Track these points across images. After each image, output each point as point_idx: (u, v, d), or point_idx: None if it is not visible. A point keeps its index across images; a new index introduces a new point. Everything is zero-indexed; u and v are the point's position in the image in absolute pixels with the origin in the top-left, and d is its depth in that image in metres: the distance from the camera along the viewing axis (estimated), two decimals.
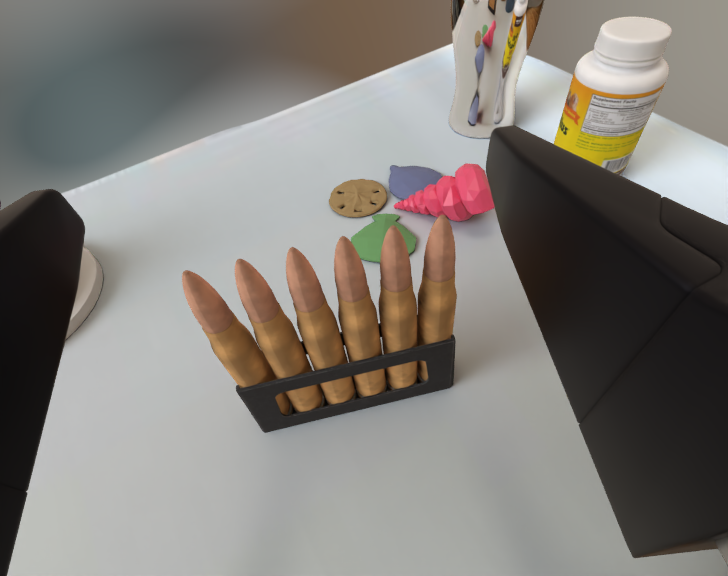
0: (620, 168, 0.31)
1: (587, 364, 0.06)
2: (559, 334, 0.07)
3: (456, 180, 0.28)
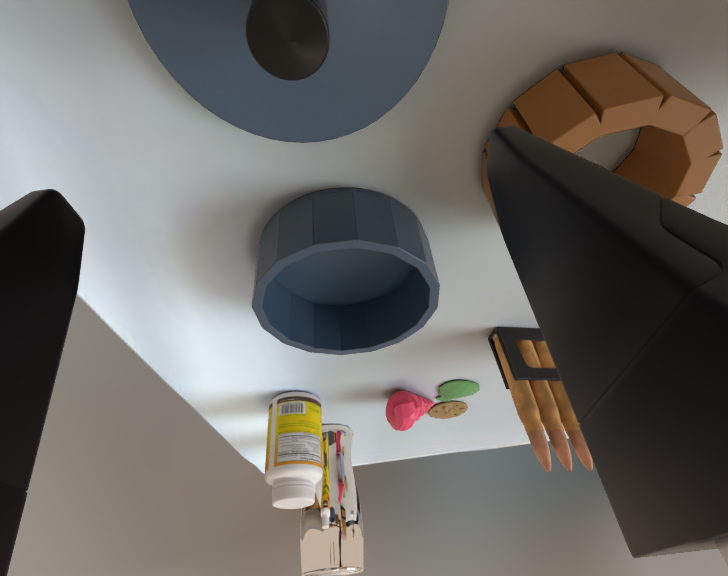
0: (288, 403, 0.42)
1: (587, 364, 0.06)
2: (559, 335, 0.07)
3: None
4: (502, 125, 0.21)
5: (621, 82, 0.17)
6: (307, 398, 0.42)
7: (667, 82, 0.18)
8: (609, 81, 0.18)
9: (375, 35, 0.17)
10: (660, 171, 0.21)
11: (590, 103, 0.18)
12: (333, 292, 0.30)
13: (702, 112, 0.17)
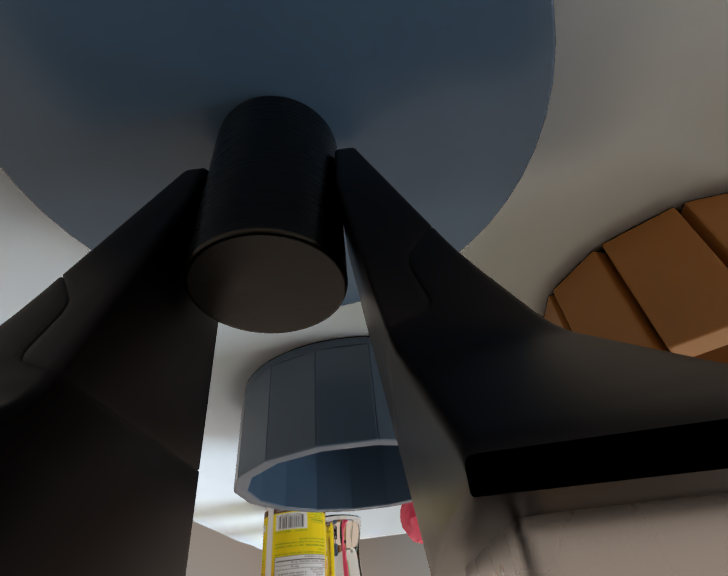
0: (287, 515, 0.35)
1: (386, 389, 0.06)
2: (377, 358, 0.07)
3: None
4: (584, 274, 0.15)
5: None
6: None
7: None
8: None
9: (413, 193, 0.10)
10: None
11: None
12: None
13: None
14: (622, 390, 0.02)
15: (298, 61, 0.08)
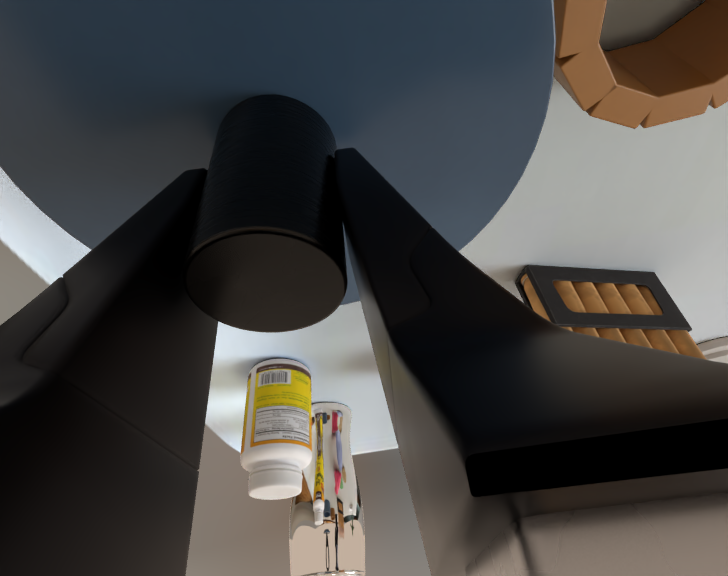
0: (269, 372, 0.34)
1: (387, 389, 0.06)
2: (377, 358, 0.07)
3: None
4: None
5: None
6: (292, 366, 0.35)
7: None
8: None
9: (413, 192, 0.10)
10: None
11: None
12: None
13: None
14: (624, 392, 0.02)
15: (298, 60, 0.08)
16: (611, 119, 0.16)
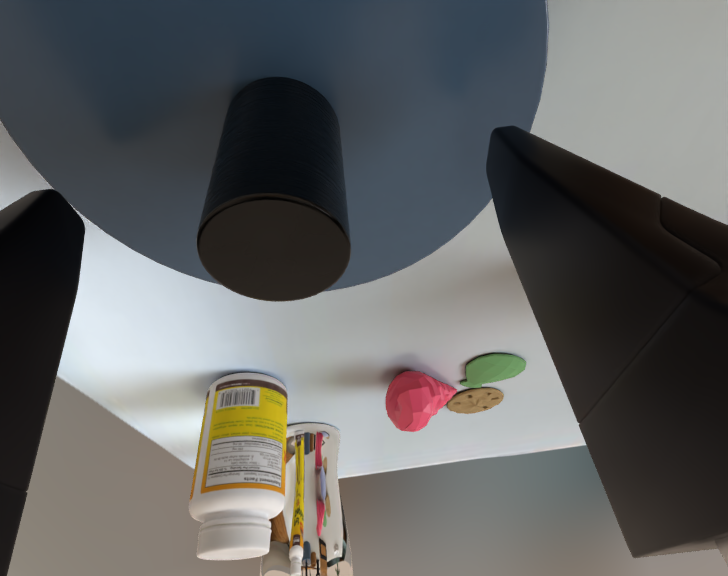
0: (232, 390, 0.26)
1: (587, 364, 0.06)
2: (559, 334, 0.07)
3: None
4: None
5: None
6: (263, 383, 0.27)
7: None
8: None
9: (413, 174, 0.11)
10: None
11: None
12: None
13: None
14: None
15: (303, 43, 0.08)
16: None
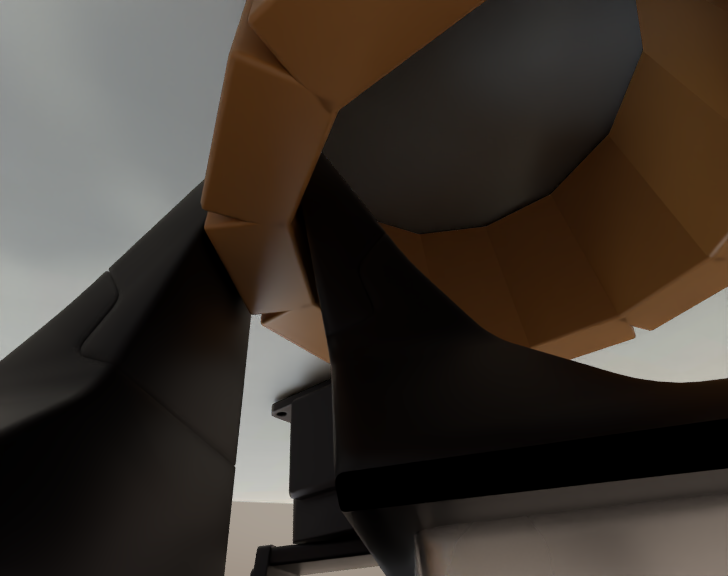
0: None
1: None
2: None
3: None
4: None
5: None
6: None
7: None
8: None
9: None
10: None
11: None
12: None
13: None
14: (514, 405, 0.02)
15: None
16: None
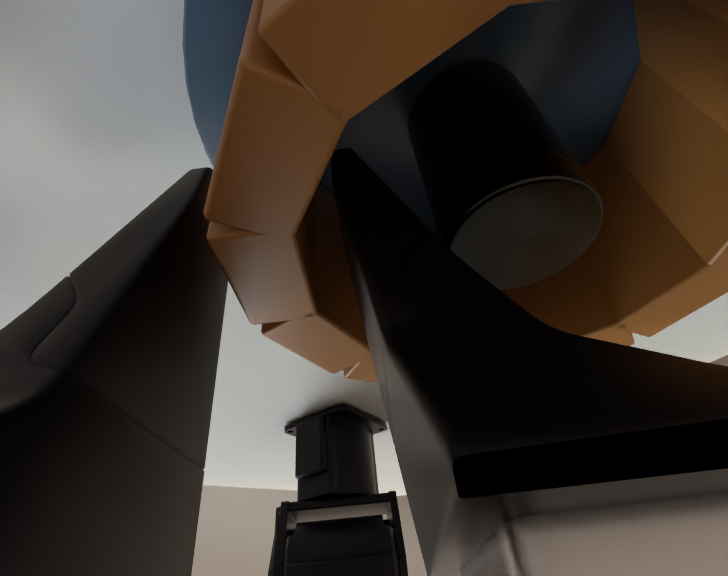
0: None
1: (383, 390, 0.06)
2: (373, 358, 0.07)
3: None
4: None
5: None
6: None
7: None
8: None
9: None
10: None
11: None
12: None
13: None
14: (612, 394, 0.02)
15: None
16: None
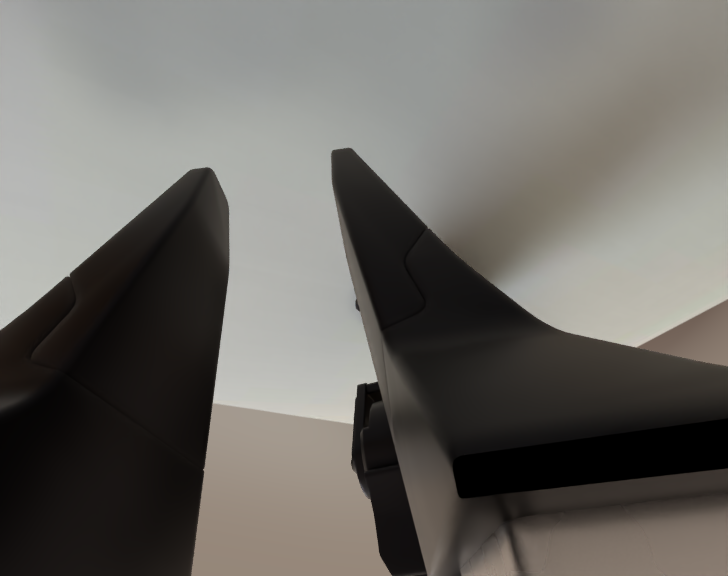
0: None
1: (383, 390, 0.06)
2: (373, 358, 0.07)
3: None
4: None
5: None
6: None
7: None
8: None
9: None
10: None
11: None
12: None
13: None
14: (614, 392, 0.02)
15: None
16: None
